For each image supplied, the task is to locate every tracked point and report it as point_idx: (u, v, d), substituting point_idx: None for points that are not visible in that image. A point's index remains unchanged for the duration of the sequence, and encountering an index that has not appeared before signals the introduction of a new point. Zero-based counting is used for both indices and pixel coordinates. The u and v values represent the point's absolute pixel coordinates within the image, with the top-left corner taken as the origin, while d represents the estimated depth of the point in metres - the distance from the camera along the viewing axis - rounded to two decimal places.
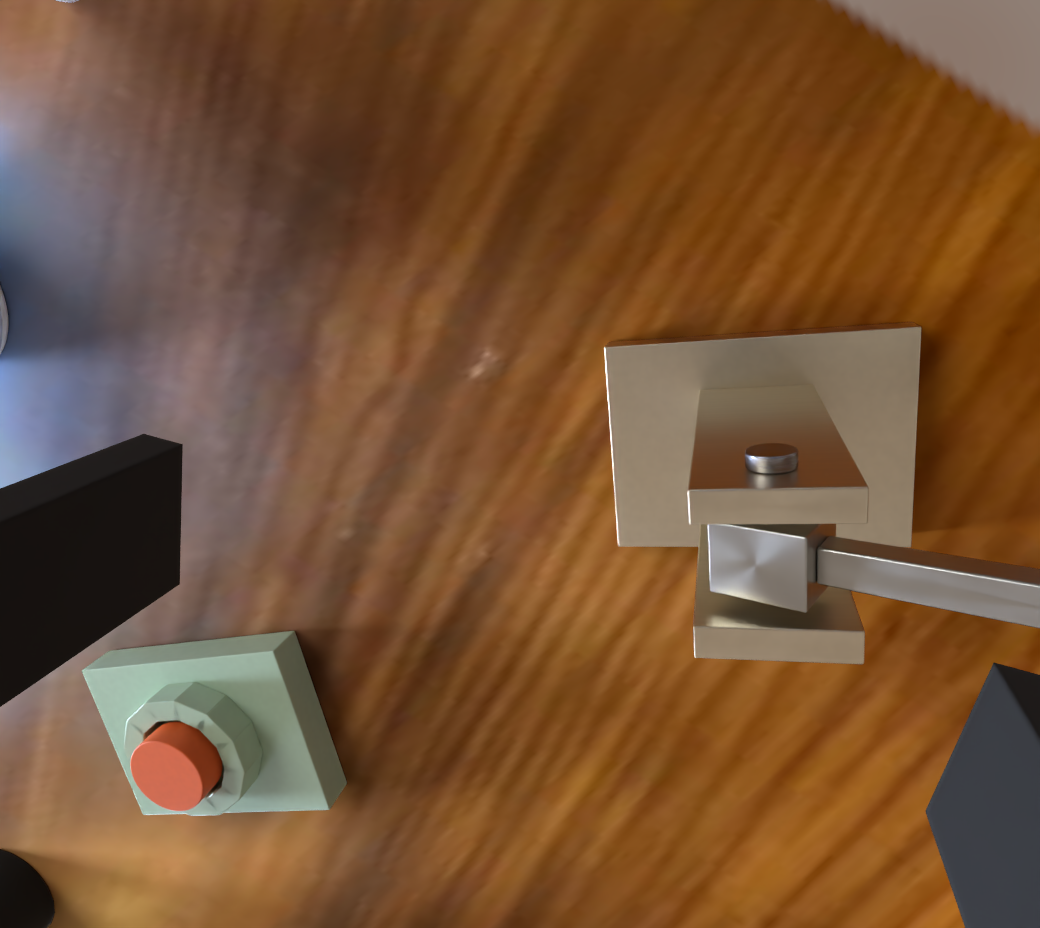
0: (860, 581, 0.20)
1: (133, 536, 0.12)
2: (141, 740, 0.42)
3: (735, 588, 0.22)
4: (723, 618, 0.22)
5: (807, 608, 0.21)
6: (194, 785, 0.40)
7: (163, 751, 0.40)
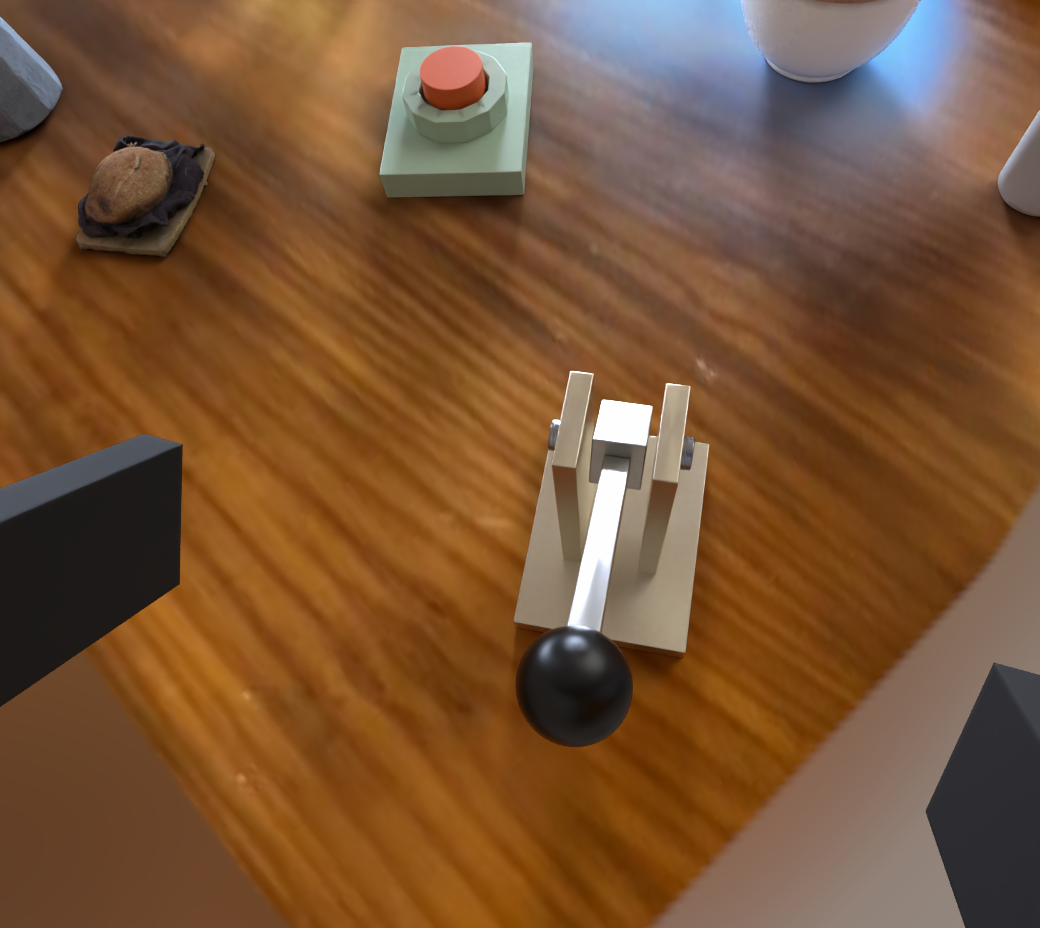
0: (609, 473, 0.30)
1: (133, 536, 0.12)
2: None
3: (606, 411, 0.32)
4: (590, 396, 0.32)
5: (594, 441, 0.31)
6: (440, 84, 0.52)
7: (472, 71, 0.53)
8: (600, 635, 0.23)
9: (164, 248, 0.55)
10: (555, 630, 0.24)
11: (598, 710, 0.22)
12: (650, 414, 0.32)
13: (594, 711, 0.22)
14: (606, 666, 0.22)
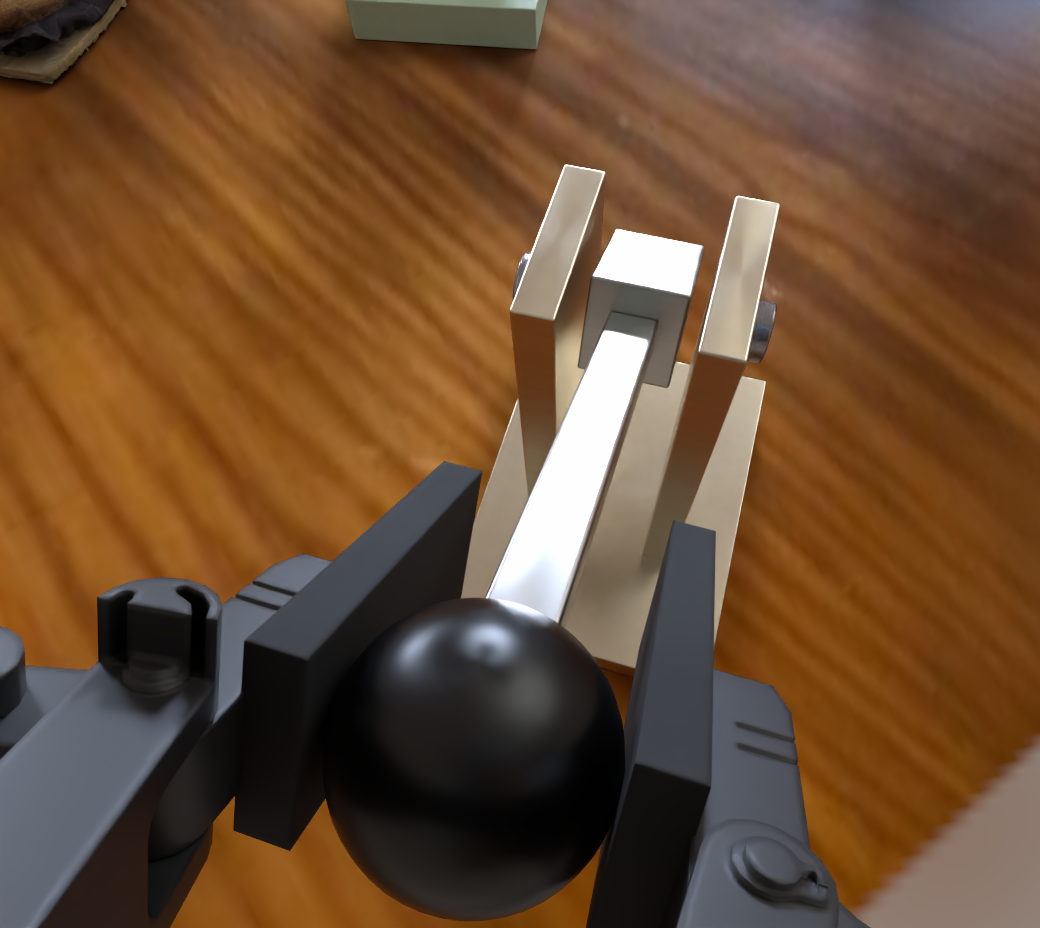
0: (616, 337, 0.16)
1: (452, 556, 0.14)
2: None
3: (621, 243, 0.18)
4: (596, 212, 0.18)
5: (595, 280, 0.17)
6: None
7: None
8: (554, 628, 0.09)
9: (49, 72, 0.41)
10: (442, 604, 0.09)
11: (521, 839, 0.08)
12: (699, 255, 0.18)
13: (509, 841, 0.08)
14: (559, 712, 0.08)
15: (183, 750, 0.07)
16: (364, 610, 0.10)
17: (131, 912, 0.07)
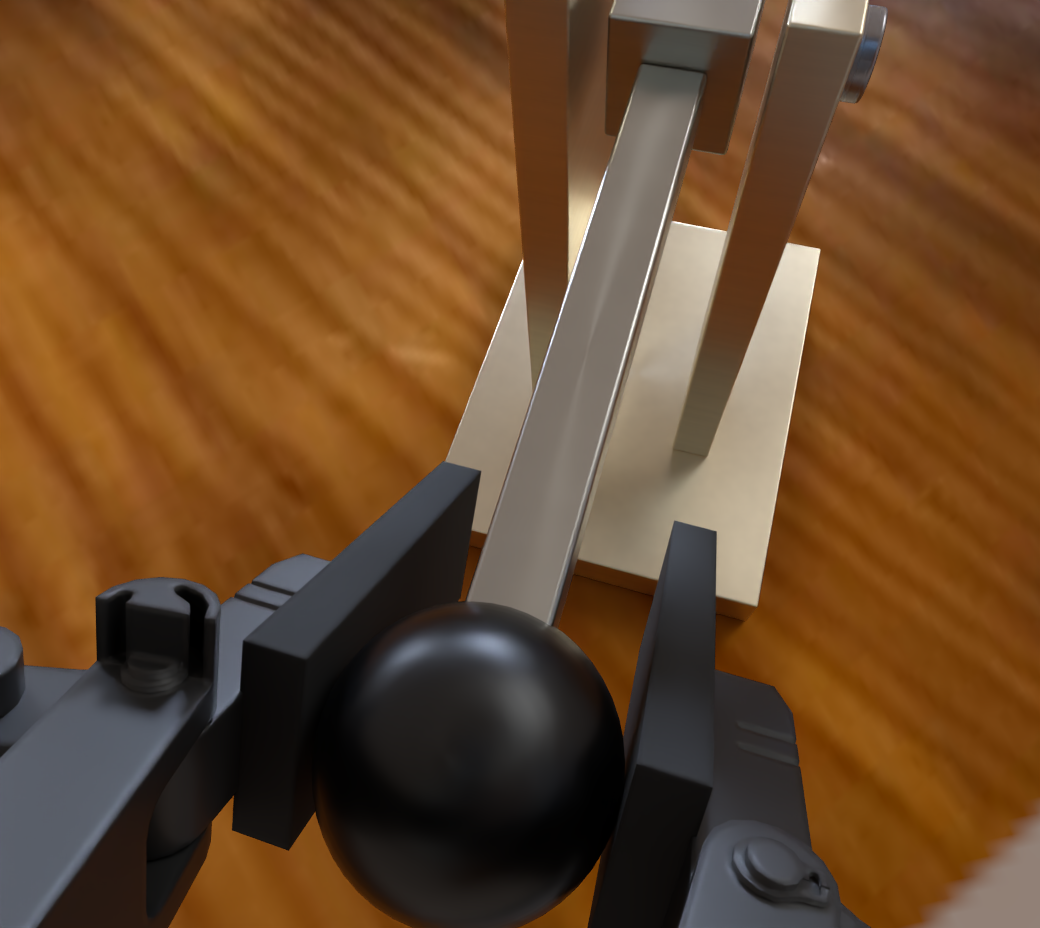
0: (645, 116, 0.12)
1: (451, 556, 0.14)
2: None
3: None
4: None
5: (614, 22, 0.12)
6: None
7: None
8: (534, 675, 0.08)
9: None
10: (409, 646, 0.08)
11: (502, 914, 0.08)
12: None
13: (490, 918, 0.08)
14: (534, 802, 0.07)
15: (182, 750, 0.07)
16: (362, 610, 0.10)
17: (129, 912, 0.07)
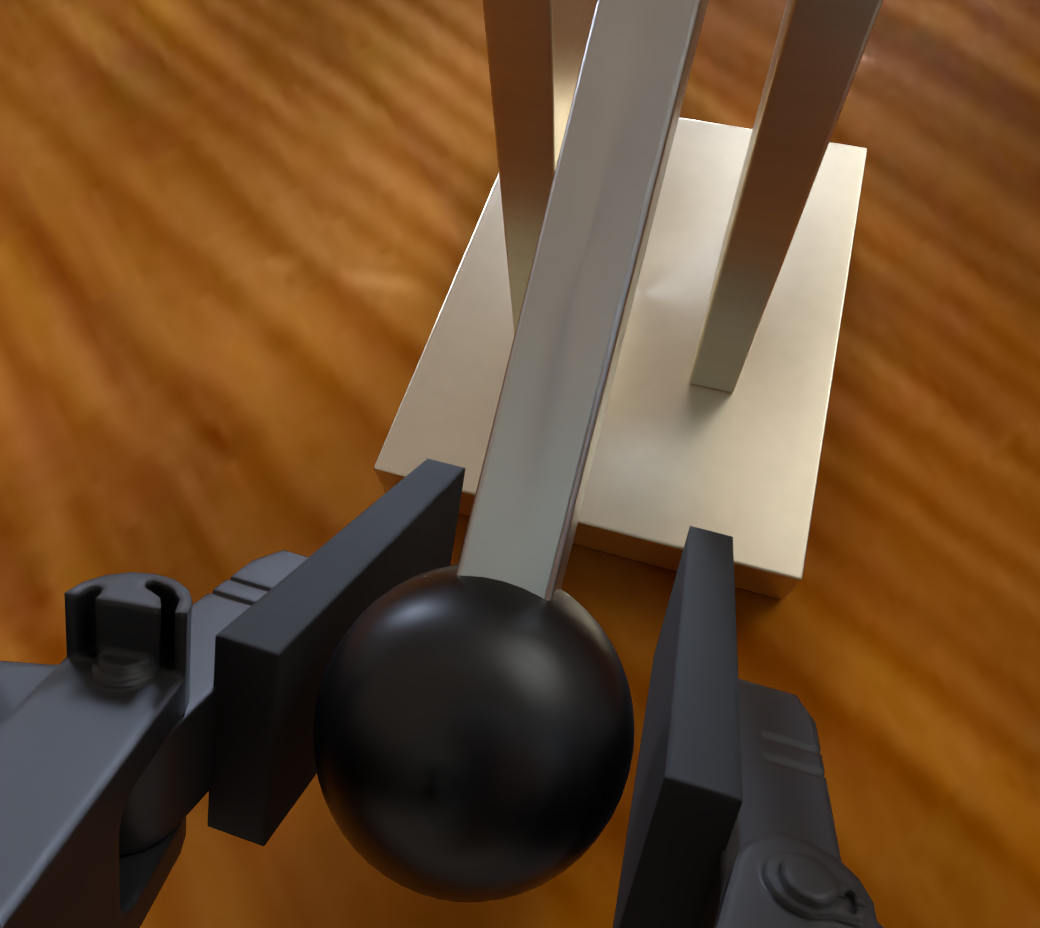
0: None
1: (434, 553, 0.14)
2: None
3: None
4: None
5: None
6: None
7: None
8: (525, 686, 0.07)
9: None
10: (390, 653, 0.08)
11: (507, 895, 0.08)
12: None
13: (495, 898, 0.08)
14: (527, 820, 0.07)
15: (154, 743, 0.07)
16: (339, 606, 0.10)
17: (103, 905, 0.07)
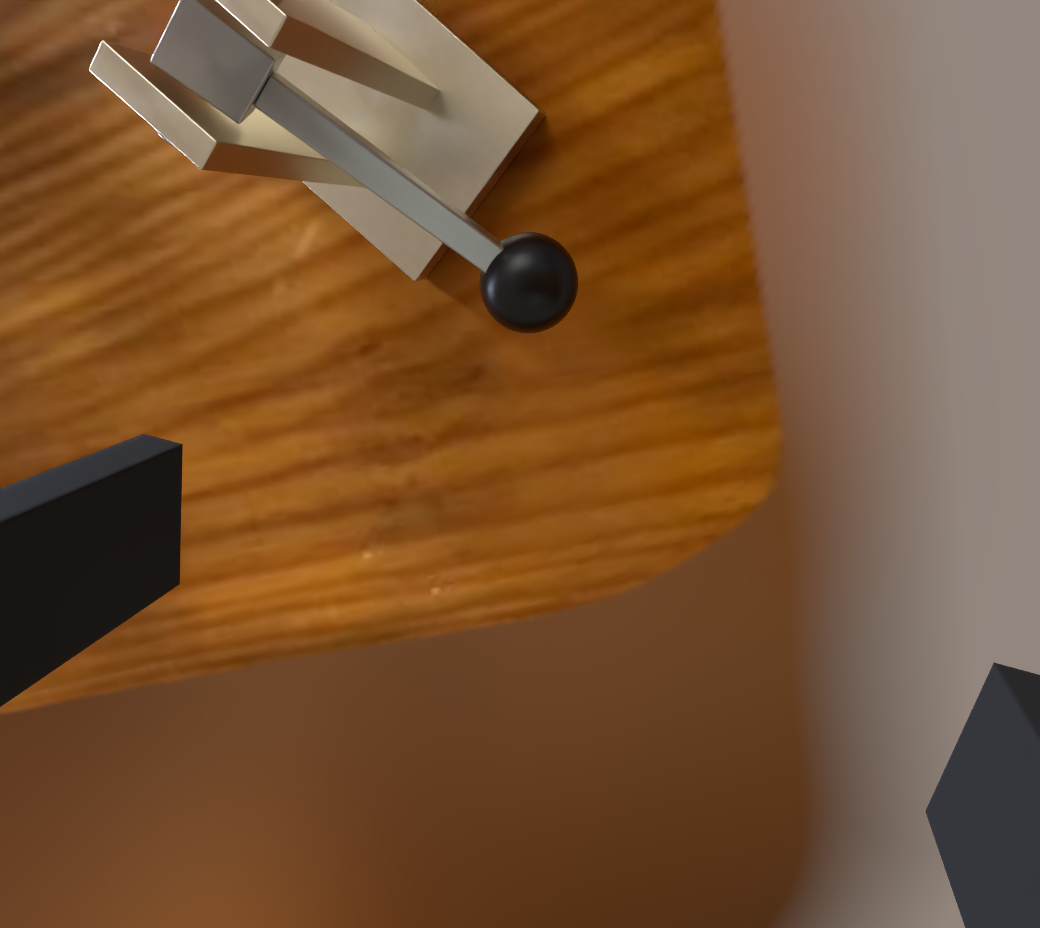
0: (291, 120, 0.24)
1: (133, 536, 0.12)
2: None
3: (180, 71, 0.22)
4: (135, 61, 0.23)
5: (241, 121, 0.23)
6: None
7: None
8: (522, 268, 0.26)
9: None
10: (499, 300, 0.27)
11: (574, 293, 0.28)
12: (204, 8, 0.22)
13: (573, 296, 0.28)
14: (554, 280, 0.27)
15: None
16: None
17: None
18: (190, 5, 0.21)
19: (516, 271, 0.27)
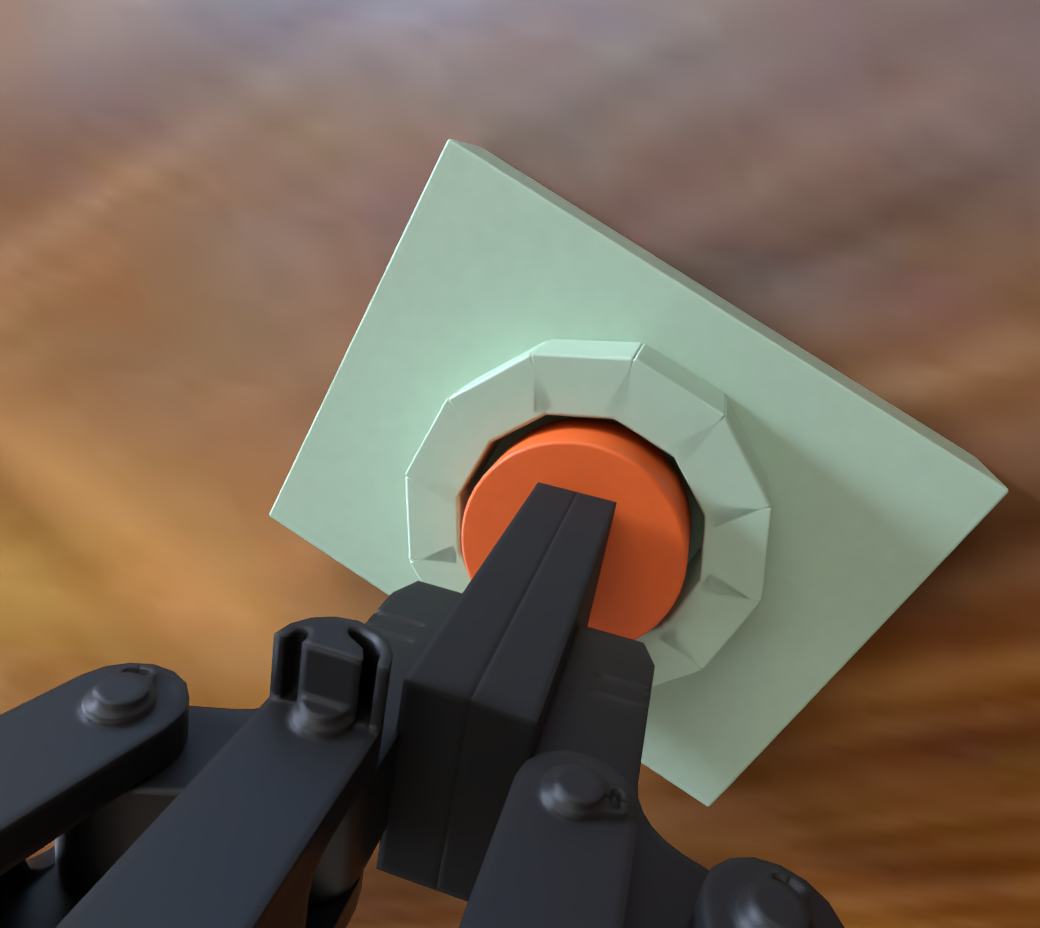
0: None
1: None
2: (517, 421, 0.15)
3: None
4: None
5: None
6: (623, 619, 0.15)
7: (634, 503, 0.14)
8: None
9: None
10: None
11: None
12: None
13: None
14: None
15: (347, 803, 0.07)
16: (503, 644, 0.09)
17: None
18: None
19: None
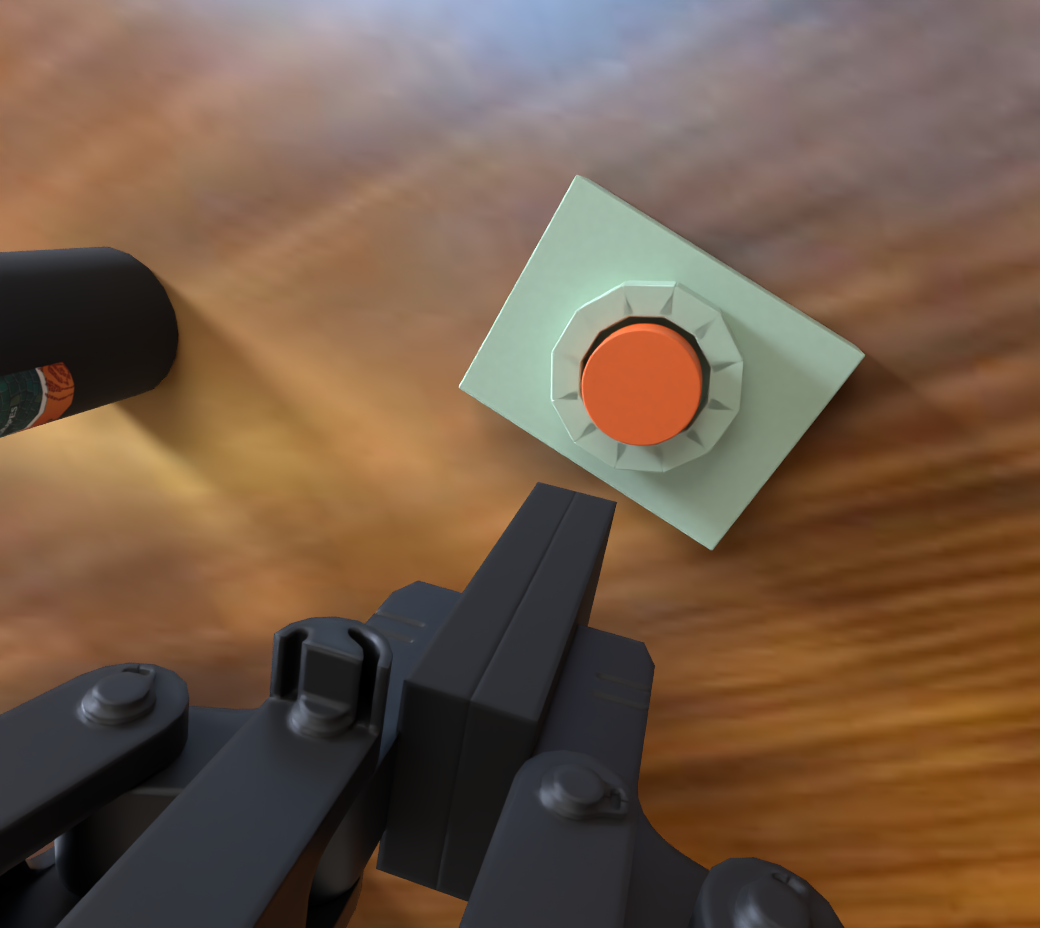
0: None
1: None
2: (614, 320, 0.29)
3: None
4: None
5: None
6: (667, 425, 0.28)
7: (674, 361, 0.28)
8: None
9: None
10: None
11: None
12: None
13: None
14: None
15: (347, 802, 0.07)
16: (503, 644, 0.09)
17: None
18: None
19: None
